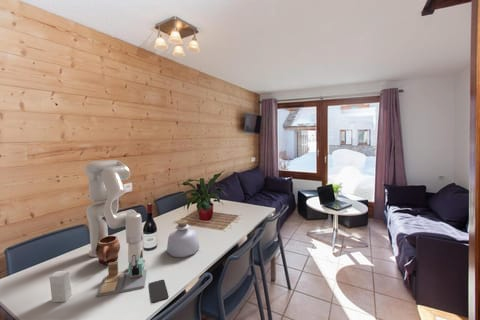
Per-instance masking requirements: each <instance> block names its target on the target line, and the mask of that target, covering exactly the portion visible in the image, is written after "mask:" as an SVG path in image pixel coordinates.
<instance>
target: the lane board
mask: <svg viewBox="0 0 480 320" xmlns="http://www.w3.org/2000/svg"><path fill="white" fill-rule="evenodd" d="M147 271H148V270H147V269H144V270H143V276H141V277H135V278H130V279H129V272H127V271H126V272H124V273H121V274H120V277H119V280H118V281H116V282H111V283H105V284H104V282H105V279H106V277H107V275H106V276H104V277H103V280H102V282H101V284H100V286H99V289H98V291H97V293H96V297H103V296H107V295H108V296H109V295H113V294H119V293H123V292H124V293H125V292H129V291H134V290H138V289H144V288H145V286H146V279H147Z"/></svg>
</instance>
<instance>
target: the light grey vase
mask: <svg viewBox="0 0 480 320" xmlns="http://www.w3.org/2000/svg"><path fill="white" fill-rule="evenodd" d="M176 222H177V225H176V227H175V229H176V230H175V231H172V232H170V233H169V235H168V238H167V245H166V246H167V247H166V252H167V254H168V255H170V256H172V257H173V258H187V257H189V256H193V255H194V254H196V252H197V251H198V250H199V249H200V243H199V238H198V234H197V232H196V231H195V230H194V229H190V225H189V224H188V220H187V219H179V220H177V221H176Z"/></svg>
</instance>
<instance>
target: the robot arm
mask: <svg viewBox="0 0 480 320" xmlns="http://www.w3.org/2000/svg"><path fill="white" fill-rule="evenodd" d="M84 169H85V170H84V171H85V174H86V176H87V180H88V199H89V201H91V202H92V203H91V204H89V205H87V207H86V209H85V213H86V217H87V221H88V227H89V228H88V229H89V241H90V250H89V251H88V256H89V257H91V258H98V257H97V255H96V247H97V244H98V241H99V240H100V239H101V238H103V237H106V236H109V231H108V227H109V228H110V229H113V230H117V229H119V228H121V227H125V238H126V239H125V240H126V244H127V246H128V248H127V249H128V250H127V251H128V255H127V256H128V264H129V263H131V261H132V276H134V275H139V267H138V262H139V260H140V255H141V250H142V248H141V247H142V246H141V245H142V244H141V242H142V241H143V239H144V238H143V237H144V236H143V223H142V221H143V219H142V215H141V213H139V212H137V211H136V210H135V209H127V210H123V211H119V199H120V197H122V196H123V195H124V194H125V193H126V188H125V186H124V183H123V181H126V180H129V179H130V178H131V170H130V168H129V167H128V166H127V165H126V164H125V163H123V162H121V160H118V159H108V160H95V161H91V162H87V164H86V165H85V167H84ZM118 211H119V212H118ZM103 218H105V220H104V219H103ZM136 260H137V261H136ZM135 263H137V265H136V264H135Z"/></svg>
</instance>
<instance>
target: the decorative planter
mask: <svg viewBox="0 0 480 320" xmlns="http://www.w3.org/2000/svg"><path fill="white" fill-rule="evenodd" d="M119 241H120V240H119V239H118V236H117V235H113V234H110V235H109V234H108V236H106V237H103V238H101V239H100V240H99V241H98V244H97V247H96V255H97V257H96V258H97V259H98V262H99V265H101V266H105V265H106V266H108V264H109V263H111V262H117V261H118V260H119V253H120V249H121V244H120V242H119Z"/></svg>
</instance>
